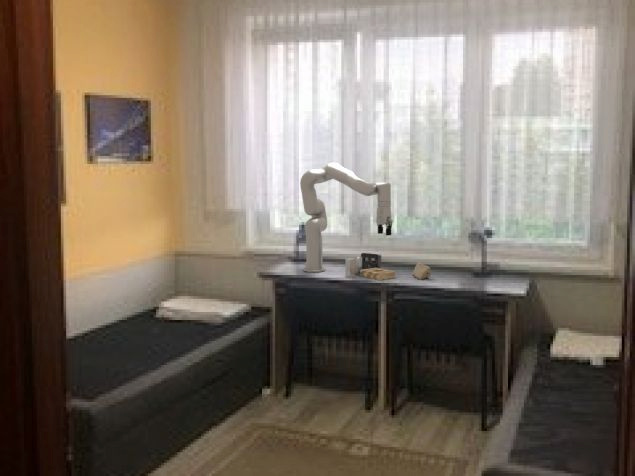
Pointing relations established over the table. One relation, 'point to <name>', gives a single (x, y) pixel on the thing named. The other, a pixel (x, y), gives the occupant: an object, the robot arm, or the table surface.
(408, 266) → the table surface
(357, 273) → the round bit
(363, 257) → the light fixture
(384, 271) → the bore block
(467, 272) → the table surface
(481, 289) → the table surface
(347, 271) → the square bit
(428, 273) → the decorative stone
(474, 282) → the table surface
